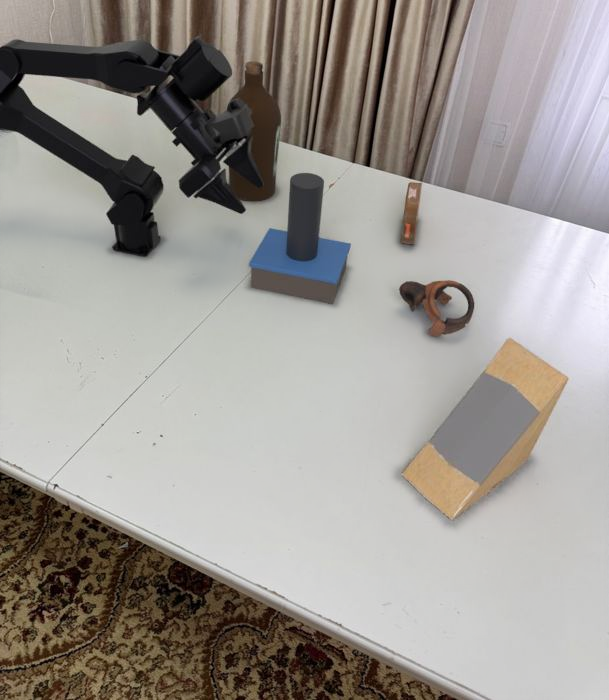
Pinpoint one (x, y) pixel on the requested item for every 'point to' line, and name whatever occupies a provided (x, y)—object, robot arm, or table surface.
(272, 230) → the container
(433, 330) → the brown ring with knob
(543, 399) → the sandwich container
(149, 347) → the table surface
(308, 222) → the dark grey cylinder
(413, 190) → the tin
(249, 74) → the olive oil
